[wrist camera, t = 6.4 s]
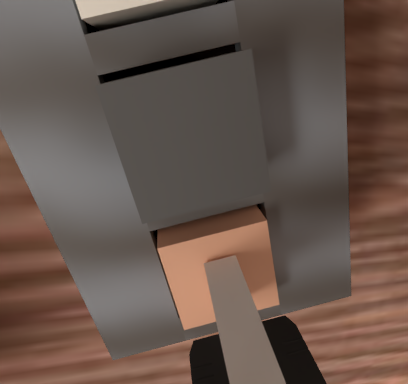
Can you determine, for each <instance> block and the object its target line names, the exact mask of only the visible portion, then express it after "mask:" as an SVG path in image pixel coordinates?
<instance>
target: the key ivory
mask: <svg viewBox="0 0 408 384" xmlns="http://www.w3.org/2000/svg"><path fill="white" fill-rule="evenodd" d="M75 1H76V4H77V7H78V10H79V13H80V16H81V19H82V20H84V21H85V22H87V23H89V24H90V25H92V26H94V27H95V28H97V29H99V30H100V31H103V30H107V29H112V28H116V27H121V26H125V25H129V24H134V23H138V22H142V21H147V20H151V19H155V18H160V17H164V16H168V15H173V14H177V13H182V12H186V11H190V10H195V9H199V8H203V7H208V6H212V5H215V3H216V2H217V1H218V0H75Z"/></svg>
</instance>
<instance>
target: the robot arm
mask: <svg viewBox="0 0 408 384" xmlns="http://www.w3.org/2000/svg"><path fill="white" fill-rule="evenodd" d="M204 267H205V271H206V276H207V281H208V285H209V290H210V295H211V299H212V304H213V309H214V313H215V318H216V323H217V327H218V332H219V334H217V335H214V336H210V337H206V338H202V339H199V340H195V341H193V345H192V348H191V351H190V354H189V355H190V366H191V376H192V384H326V382H325V380H324V378H323V376H322V374H321V372H320V370H319V368H318V366H317V364H316V362H315V361H314V359H313V357H312V355H311V353H310V351H309V350H308V347H307V345H306V343H305V341H304V340H303V338H302V336H301V334H300V332H299V330H298V328H297V326H296V324H294V323H293V322H292V321H291V320H290V319H289V318H287V317H286V316H281V317H277V318H274V319H270V320H266V321H261V319H260V316H259V314H258V311H257V308H256V306H255V303H254V301H253V298H252V296H251V293H250V291H249V288H248V286H247V283H246V280H245V278H244V275H243V273H242V270H241V268H240V265H239V263H238V260H237V258H236V255H234V256H230V257H226V258H222V259H218V260H214V261H210V262H207V263H204Z"/></svg>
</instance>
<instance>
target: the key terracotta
mask: <svg viewBox="0 0 408 384" xmlns="http://www.w3.org/2000/svg"><path fill="white" fill-rule="evenodd" d="M157 250H158V253H159V256H160V259H161V262H162V265H163V268H164V271H165V274H166V277H167V280H168V283H169V286H170V289H171V292H172V295H173V298H174V301H175V304H176V307H177V310H178V313H179V316H180V319H181V322H182V325H183V328H184V330H187V329H190V328H194V327H198V326H202V325H205V324H209V323H213V322H216V318H215V313H214V309H213V304H212V299H211V295H210V290H209V285H208V281H207V276H206V271H205V267H204V263H207V262H210V261H214V260H218V259H222V258H226V257H230V256H234V255H236V258H237V260H238V263H239V265H240V268H241V270H242V273H243V275H244V278H245V280H246V283H247V286H248V288H249V291H250V293H251V296H252V298H253V301H254V303H255V306H256V308H257V310H261V309H265V308H269V307H272V306H276V305H280V304H279V298H278V291H277V284H276V278H275V271H274V264H273V258H272V251H271V244H270V238H269V231H268V224H267V220H266V218H265V217H264V215H263V214H262V213H261V211H260V210H259V208H258V207H257V205H256V204H255V205H251V206H247V207H243V208H239V209H235V210H231V211H228V212H224V213H220V214H216V215H212V216H208V217H204V218H200V219H196V220H192V221H188V222H184V223H181V224H177V225H173V226H169V227H165V228H161V229H158V234H157Z"/></svg>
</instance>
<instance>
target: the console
mask: <svg viewBox="0 0 408 384" xmlns="http://www.w3.org/2000/svg"><path fill="white" fill-rule="evenodd" d="M231 44H235V50H236V52H237V51H243V50H248V49H252V55H253V62H254V69H255V76H256V84H257V91H258V98H259V106H260V113H261V120H262V127H263V135H264V142H265V149H266V156H267V164H268V171H269V178H270V186H271V192H267V193H263V194H259V195H255V196H251V197H247V198H243V199H239V200H235V201H231V202H228V203H224V204H220V205H216V206H212V207H208V208H204V209H200V210H196V211H192V212H188V213H184V214H180V215H176V216H173V217H169V218H165V219H161V220H157V221H153V222H149V223H145V224H142V222H141V219H140V216H139V213H138V210H137V207H136V204H135V201H134V198H133V196H132V193H131V190H130V187H129V184H128V181H127V178H126V175H125V172H124V169H123V166H122V163H121V160H120V157H119V154H118V152H117V149H116V146H115V143H114V140H113V137H112V134H111V131H110V128H109V125H108V122H107V119H106V116H105V113H104V111H103V108H102V105H101V102H100V99H99V96H98V93H97V90H96V87H95V86H96V85H99V84H102V83H105V82H104V79H103V76H102V75H104V74H108V73H112V72H116V71H121V70H125V69H129V68H133V67H138V66H142V65H146V64H150V63H155V62H159V61H163V60H168V59H172V58H176V57H180V56H185V55H189V54H193V53H197V52H202V51H206V50H210V49H214V48H219V47H223V46H227V45H231ZM0 129H1V131H2V133H3V135H4V137H5V139H6V142H7V144H8V146H9V148H10V150H11V152H12V154H13V156H14V158H15V160H16V162H17V164H18V166H19V168H20V170H21V172H22V174H23V176H24V179H25V181H26V183H27V185H28V187H29V189H30V191H31V193H32V195H33V197H34V199H35V201H36V203H37V205H38V207H39V209H40V211H41V213H42V215H43V218H44V220H45V222H46V224H47V226H48V228H49V230H50V232H51V234H52V236H53V238H54V240H55V242H56V244H57V246H58V248H59V250H60V252H61V255H62V257H63V259H64V261H65V263H66V265H67V267H68V269H69V271H70V273H71V275H72V277H73V279H74V281H75V283H76V285H77V287H78V289H79V292H80V294H81V296H82V298H83V300H84V302H85V304H86V306H87V308H88V310H89V312H90V314H91V316H92V318H93V320H94V322H95V324H96V326H97V328H98V331H99V333H100V335H101V337H102V339H103V341H104V343H105V345H106V347H107V349H108V351H109V353H110V355H111V357H112V359H113V360H115V359H119V358H123V357H127V356H130V355H134V354H138V353H141V352H145V351H149V350H152V349H156V348H160V347H164V346H167V345H171V344H175V343H178V342H182V341H186V340H190V339H193V338H197V337H201V336H204V335H208V334H212V333H215V332H218V327H217V323H216V322H213V323H209V324H205V325H202V326H198V327H194V328H190V329H187V330H184V328H183V325H182V322H181V319H180V316H179V313H178V310H177V307H176V304H175V301H174V298H173V295H172V292H171V289H170V286H169V283H168V280H167V277H166V274H165V271H164V268H163V265H162V262H161V259H160V256H159V253H158V250H157V241H156V238H155V235H154V232H153V230H157V229H161V228H165V227H169V226H173V225H177V224H181V223H184V222H188V221H192V220H196V219H200V218H204V217H208V216H212V215H216V214H220V213H224V212H228V211H231V210H235V209H239V208H243V207H247V206H251V205H255V204H259V203H260V209H261V213H262V214H263V215H264V217H265V218H266V220H267V224H268V231H269V238H270V244H271V251H272V258H273V264H274V271H275V278H276V284H277V291H278V298H279V304H280V305H276V306H272V307H269V308H265V309H261V310H257V311H258V314H259V316H260V319H261V320H264V319H267V318H271V317H275V316H278V315H282V314H286V313H290V312H293V311H297V310H301V309H304V308H308V307H312V306H315V305H319V304H323V303H327V302H330V301H334V300H338V299H341V298H345V297H349V296H351V266H350V227H349V187H348V148H347V108H346V69H345V29H344V0H228V2H225V3H221V4H216V5H212V6H208V7H203V8H199V9H195V10H190V11H186V12H182V13H177V14H173V15H168V16H164V17H160V18H155V19H151V20H147V21H142V22H138V23H134V24H129V25H125V26H121V27H116V28H112V29H107V30H103V31H99V32H94V33H90V34H89V33H88V30H87V27H86V24H85V21H84V20H82V19H81V16H80V13H79V10H78V7H77V4H76V1H75V0H0Z"/></svg>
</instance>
